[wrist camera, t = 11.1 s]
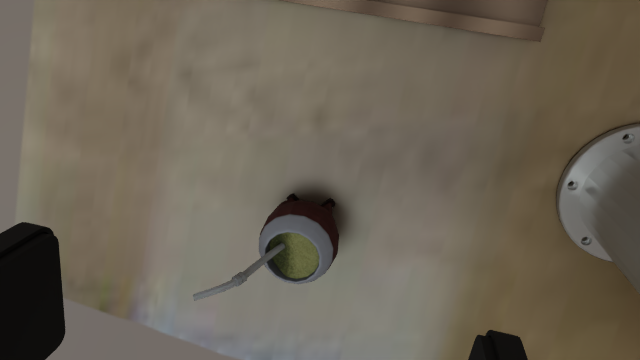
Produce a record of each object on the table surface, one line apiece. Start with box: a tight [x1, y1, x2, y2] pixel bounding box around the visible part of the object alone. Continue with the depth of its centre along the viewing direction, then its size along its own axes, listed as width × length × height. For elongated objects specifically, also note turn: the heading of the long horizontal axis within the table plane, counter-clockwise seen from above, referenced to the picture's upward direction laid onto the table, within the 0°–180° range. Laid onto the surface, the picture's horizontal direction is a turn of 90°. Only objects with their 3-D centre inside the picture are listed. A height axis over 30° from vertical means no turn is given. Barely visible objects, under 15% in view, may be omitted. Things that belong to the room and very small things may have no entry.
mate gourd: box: [193, 194, 339, 301], centre depth 39 cm, size 8×8×15 cm
